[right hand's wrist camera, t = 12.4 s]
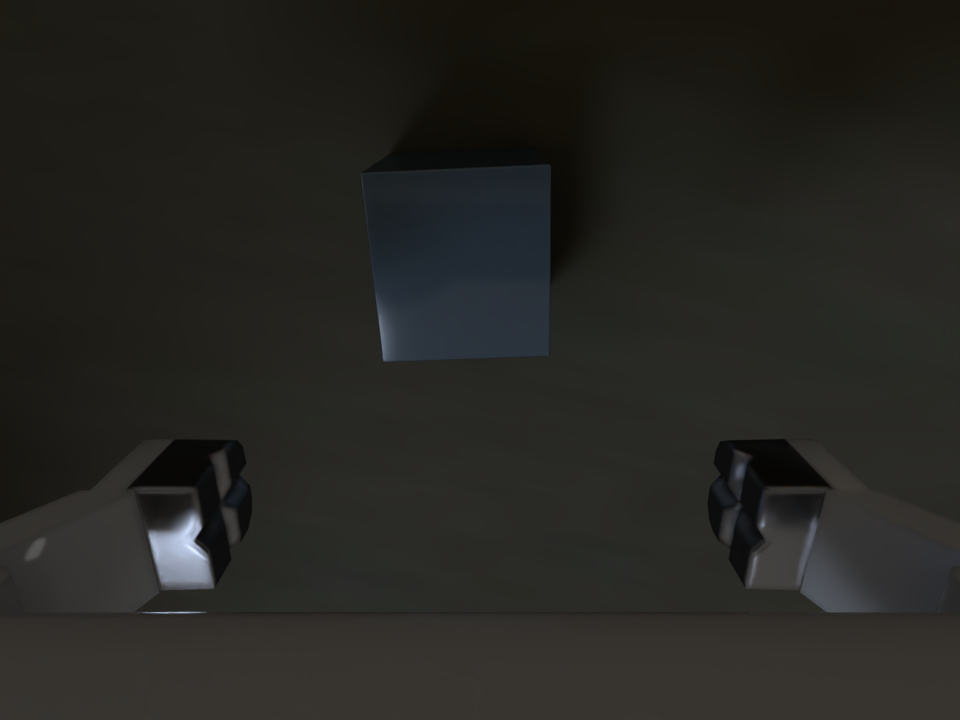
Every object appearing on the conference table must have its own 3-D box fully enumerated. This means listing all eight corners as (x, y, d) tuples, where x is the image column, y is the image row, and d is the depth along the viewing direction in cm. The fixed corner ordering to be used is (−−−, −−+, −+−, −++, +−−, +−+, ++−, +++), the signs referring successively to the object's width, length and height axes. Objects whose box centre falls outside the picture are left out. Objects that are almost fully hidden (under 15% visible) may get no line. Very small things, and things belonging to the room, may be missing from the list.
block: (388, 153, 18) (359, 173, 14) (535, 147, 18) (551, 164, 14) (404, 305, 20) (382, 362, 16) (536, 300, 20) (550, 356, 16)
